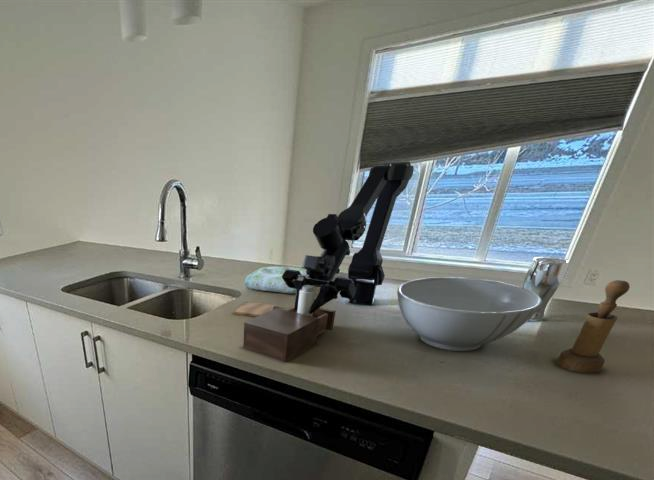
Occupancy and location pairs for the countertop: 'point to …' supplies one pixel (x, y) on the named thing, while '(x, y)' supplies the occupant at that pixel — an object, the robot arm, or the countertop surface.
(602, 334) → the mortar and pestle
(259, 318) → the cabinet
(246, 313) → the cork mat
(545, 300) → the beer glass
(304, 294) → the salt mill
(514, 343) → the countertop surface
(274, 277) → the towel
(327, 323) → the drawer
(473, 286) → the decorative bowl
